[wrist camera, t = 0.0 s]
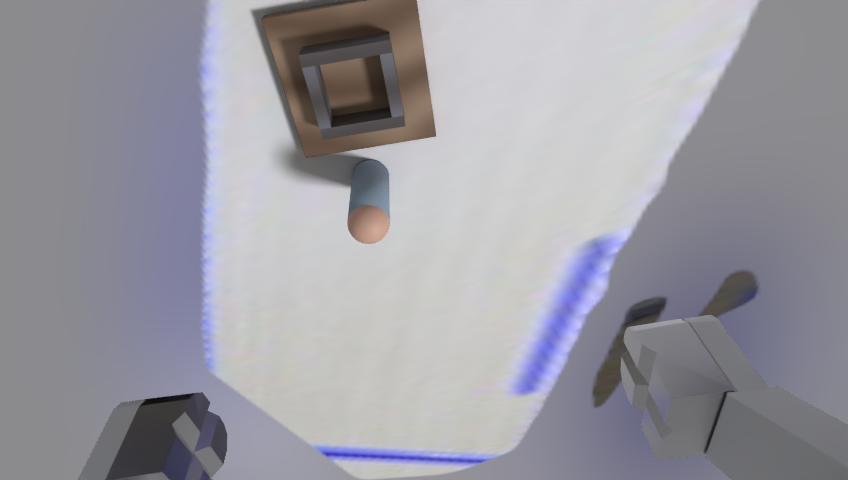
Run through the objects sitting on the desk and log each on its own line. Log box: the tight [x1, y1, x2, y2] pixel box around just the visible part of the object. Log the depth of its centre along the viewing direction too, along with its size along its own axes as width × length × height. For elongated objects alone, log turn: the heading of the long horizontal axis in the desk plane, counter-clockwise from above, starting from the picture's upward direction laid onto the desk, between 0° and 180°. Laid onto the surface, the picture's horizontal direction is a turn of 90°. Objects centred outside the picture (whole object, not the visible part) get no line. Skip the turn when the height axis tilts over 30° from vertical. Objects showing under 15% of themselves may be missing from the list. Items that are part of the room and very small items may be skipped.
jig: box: [262, 0, 436, 158], centre depth 52 cm, size 15×15×4 cm
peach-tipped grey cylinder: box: [348, 160, 390, 244], centre depth 56 cm, size 4×4×12 cm
